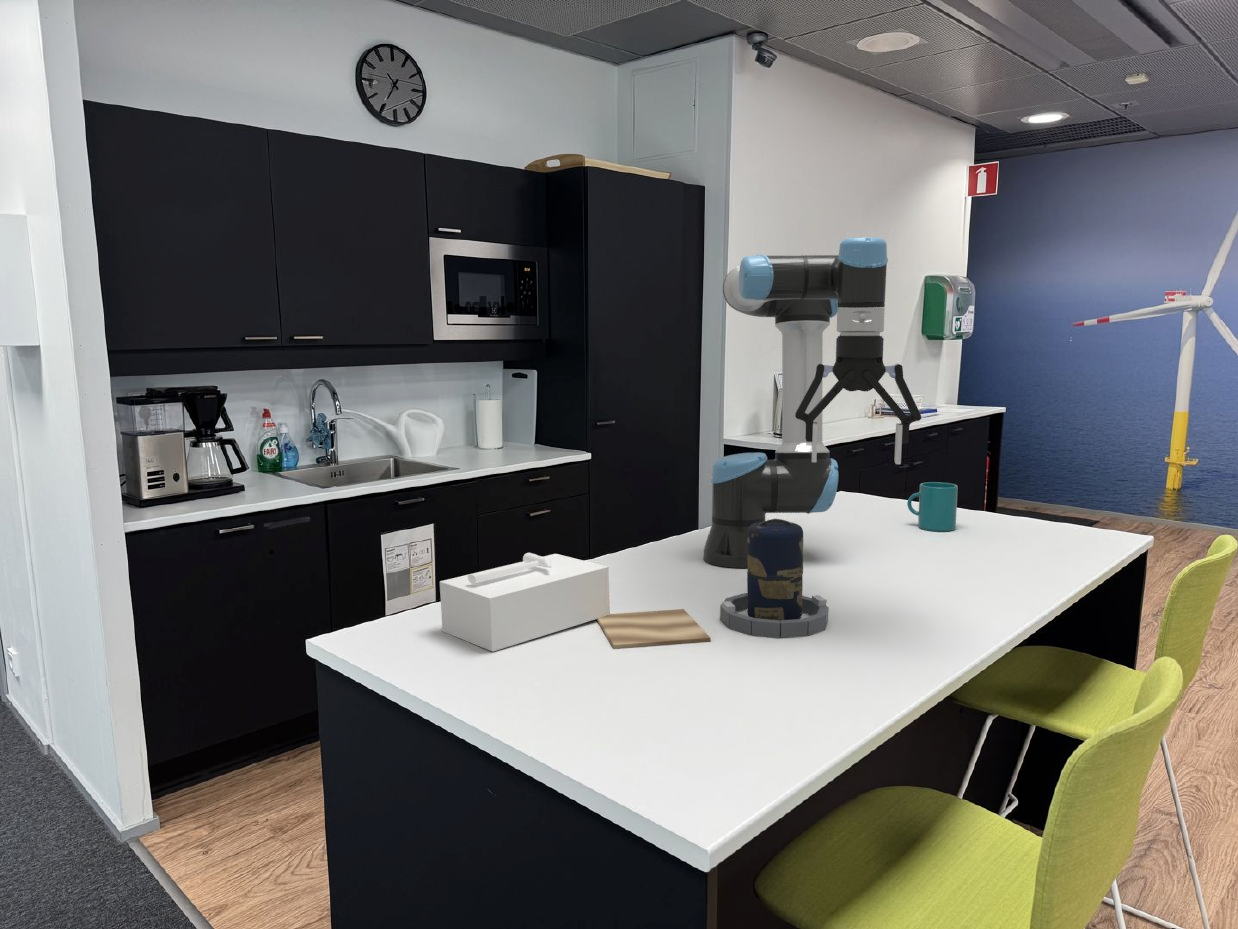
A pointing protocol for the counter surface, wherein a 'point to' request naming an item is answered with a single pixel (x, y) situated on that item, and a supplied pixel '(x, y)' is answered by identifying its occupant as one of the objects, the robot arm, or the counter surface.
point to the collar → (775, 627)
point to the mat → (651, 628)
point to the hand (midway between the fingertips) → (855, 462)
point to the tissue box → (524, 600)
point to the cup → (936, 506)
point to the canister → (775, 570)
